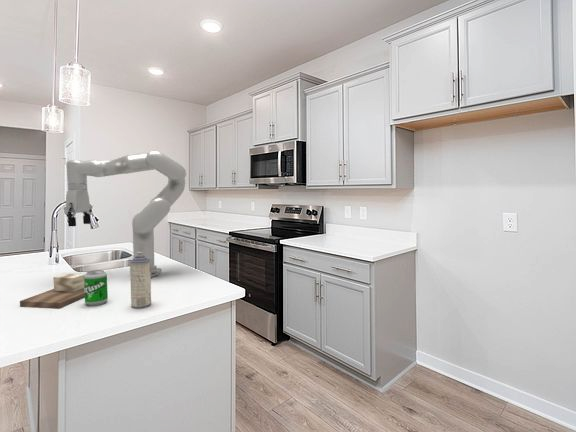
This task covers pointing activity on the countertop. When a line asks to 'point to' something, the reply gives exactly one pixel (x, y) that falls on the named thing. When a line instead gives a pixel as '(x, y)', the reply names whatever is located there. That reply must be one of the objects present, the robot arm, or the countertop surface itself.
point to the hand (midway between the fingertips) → (79, 225)
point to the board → (52, 299)
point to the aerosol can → (140, 281)
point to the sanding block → (69, 283)
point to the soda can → (95, 287)
